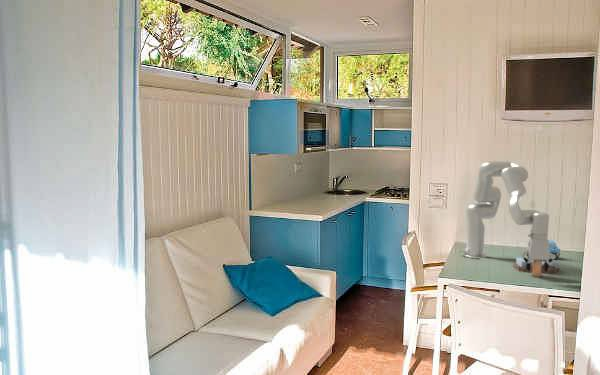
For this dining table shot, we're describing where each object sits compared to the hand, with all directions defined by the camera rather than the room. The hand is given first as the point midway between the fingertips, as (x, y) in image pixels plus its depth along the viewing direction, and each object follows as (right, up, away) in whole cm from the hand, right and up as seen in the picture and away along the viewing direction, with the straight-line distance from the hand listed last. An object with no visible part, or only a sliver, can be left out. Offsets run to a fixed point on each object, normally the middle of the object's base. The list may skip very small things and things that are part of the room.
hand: (536, 270), depth 272 cm
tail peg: (0, -4, 0) cm, 4 cm away
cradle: (+5, -3, +12) cm, 13 cm away
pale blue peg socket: (+5, -1, +12) cm, 13 cm away
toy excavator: (+25, +1, +47) cm, 53 cm away
